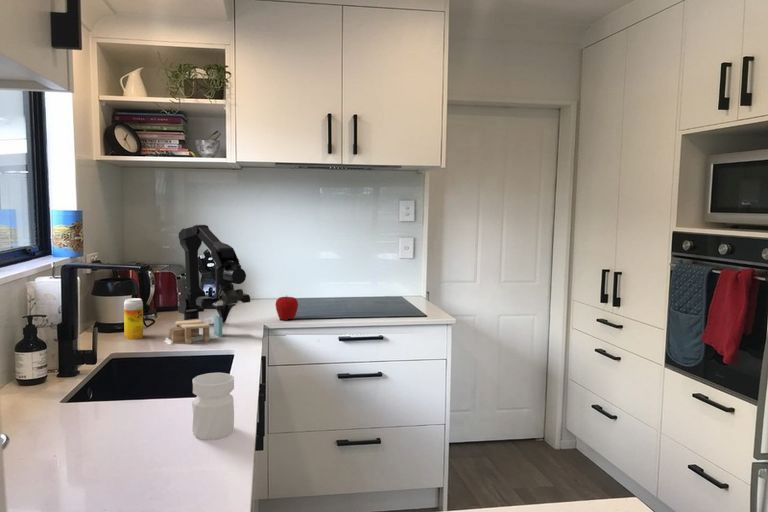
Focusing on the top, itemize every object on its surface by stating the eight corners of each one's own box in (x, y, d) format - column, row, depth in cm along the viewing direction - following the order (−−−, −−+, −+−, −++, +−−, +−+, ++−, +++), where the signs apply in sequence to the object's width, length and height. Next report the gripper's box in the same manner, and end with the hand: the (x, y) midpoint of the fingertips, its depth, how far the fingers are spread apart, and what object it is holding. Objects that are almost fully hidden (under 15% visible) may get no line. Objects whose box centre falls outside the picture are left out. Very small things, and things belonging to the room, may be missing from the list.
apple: (281, 323, 227) (281, 297, 226) (271, 319, 234) (271, 294, 233) (302, 320, 233) (302, 295, 232) (291, 316, 240) (291, 292, 239)
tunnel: (175, 340, 193) (175, 321, 192) (197, 338, 198) (197, 318, 197) (186, 348, 184) (186, 327, 183) (209, 344, 189) (209, 324, 188)
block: (169, 340, 188) (169, 327, 188) (182, 338, 191) (182, 326, 190) (173, 343, 184) (173, 330, 184) (186, 341, 187) (186, 328, 187)
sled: (163, 343, 188) (163, 321, 187) (216, 336, 200) (216, 315, 199) (168, 346, 183) (168, 324, 182) (222, 339, 195) (222, 318, 194)
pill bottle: (214, 420, 123) (214, 370, 122) (242, 429, 119) (242, 377, 118) (183, 434, 116) (183, 380, 115) (211, 444, 112) (211, 388, 110)
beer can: (135, 343, 188) (135, 301, 187) (120, 342, 189) (120, 300, 188) (146, 339, 194) (146, 298, 193) (132, 338, 195) (131, 297, 194)
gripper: (207, 285, 184) (207, 330, 186) (257, 282, 196) (256, 323, 197) (195, 281, 193) (195, 324, 194) (244, 278, 205) (243, 318, 206)
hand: (223, 322), depth 198 cm, fingers closed
